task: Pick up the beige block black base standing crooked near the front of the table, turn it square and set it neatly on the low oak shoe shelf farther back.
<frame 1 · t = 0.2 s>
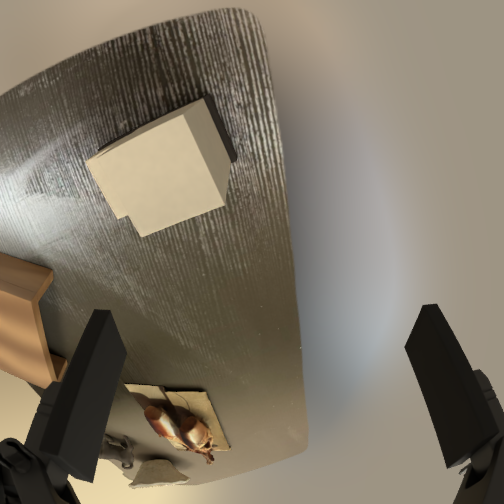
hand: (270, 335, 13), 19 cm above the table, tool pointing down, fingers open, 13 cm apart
shoe shelf: (23, 311, 38), on the table
ballet pointe shoes: (188, 422, 53), on the table
beige block black base: (186, 140, 27), on the table
dog figurine: (113, 437, 60), on the table
bowl: (162, 460, 66), on the table
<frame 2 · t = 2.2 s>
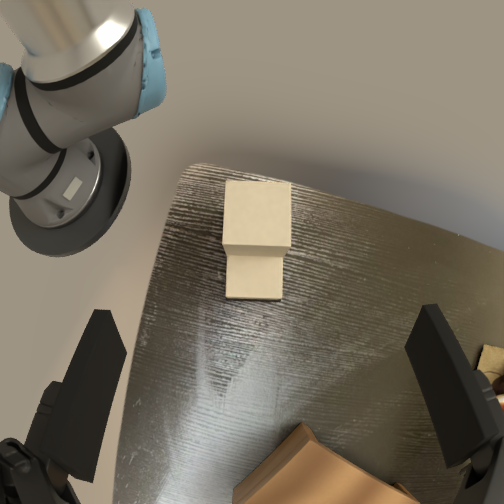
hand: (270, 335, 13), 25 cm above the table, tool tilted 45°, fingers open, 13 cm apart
shoe shelf: (323, 492, 33), on the table
beige block black base: (254, 237, 39), on the table
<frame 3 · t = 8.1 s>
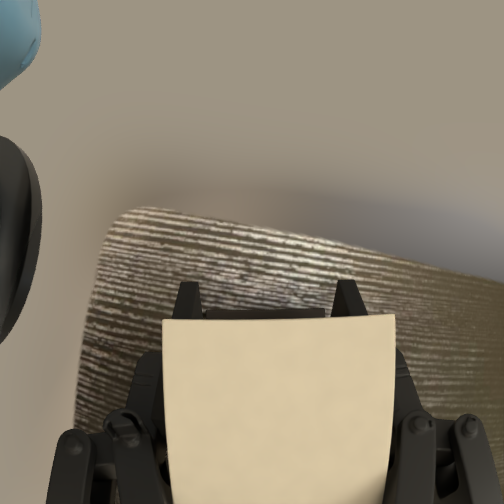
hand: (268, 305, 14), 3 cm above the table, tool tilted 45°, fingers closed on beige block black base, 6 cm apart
beige block black base: (265, 372, 17), on the table, touching gripper
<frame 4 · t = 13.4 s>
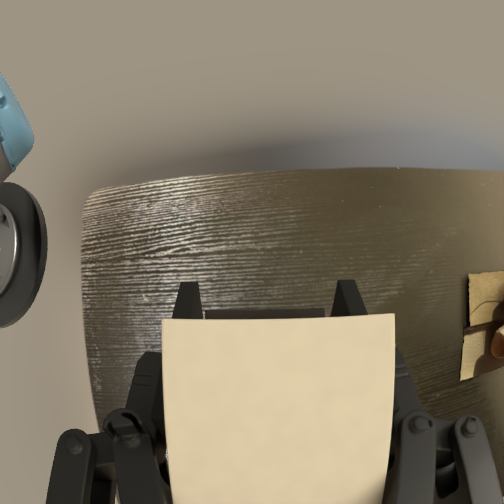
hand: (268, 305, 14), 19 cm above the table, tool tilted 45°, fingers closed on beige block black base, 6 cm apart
beige block black base: (265, 372, 17), point 16 cm above the table, touching gripper
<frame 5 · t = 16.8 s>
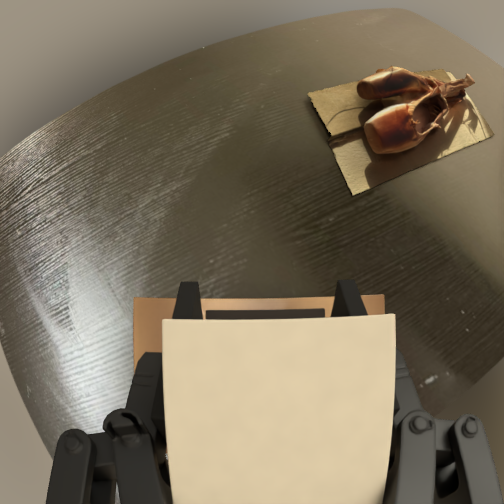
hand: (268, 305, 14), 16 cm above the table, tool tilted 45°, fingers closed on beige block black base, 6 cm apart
shoe shelf: (259, 370, 29), on the table
ballet pointe shoes: (411, 115, 35), on the table
beige block black base: (265, 372, 17), point 13 cm above the table, touching gripper
when the fingers open (9 cm above the table, at t = 19.0 s): beige block black base stays where it is, resting on shoe shelf.
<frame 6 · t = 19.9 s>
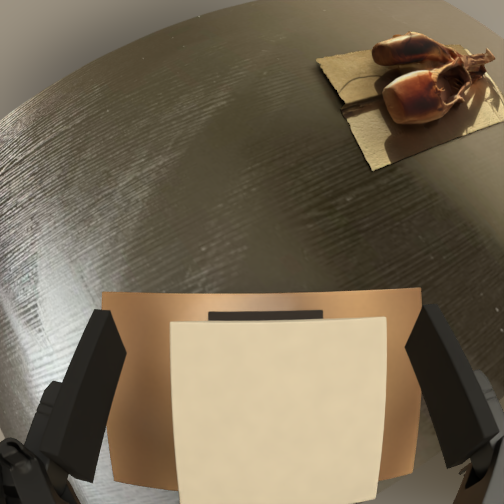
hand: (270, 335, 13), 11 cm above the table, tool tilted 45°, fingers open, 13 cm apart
shoe shelf: (262, 384, 23), on the table
ballet pointe shoes: (431, 89, 29), on the table
beige block black base: (265, 372, 18), point 6 cm above the table, touching shoe shelf
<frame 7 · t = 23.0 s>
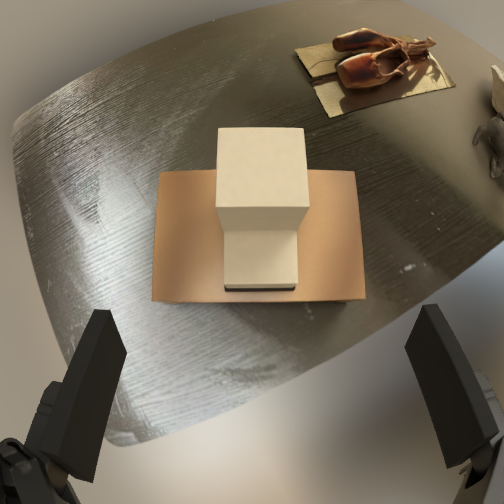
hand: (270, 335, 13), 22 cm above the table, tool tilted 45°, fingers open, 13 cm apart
shoe shelf: (257, 245, 36), on the table
ballet pointe shoes: (379, 67, 42), on the table
beige block black base: (258, 211, 31), point 6 cm above the table, touching shoe shelf
dog figurine: (492, 164, 39), on the table
bowl: (502, 112, 42), on the table
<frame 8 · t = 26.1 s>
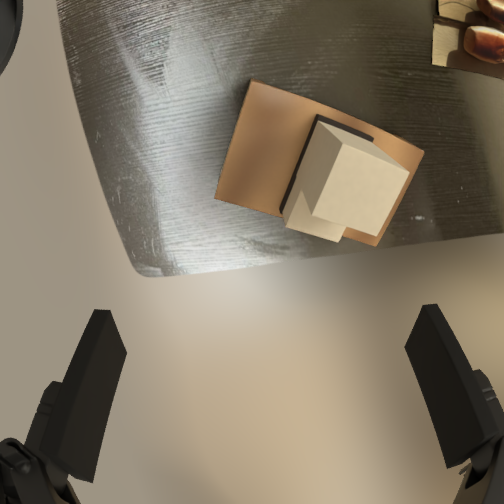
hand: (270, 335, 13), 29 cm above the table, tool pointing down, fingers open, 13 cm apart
shoe shelf: (314, 155, 37), on the table
beige block black base: (331, 154, 31), point 6 cm above the table, touching shoe shelf
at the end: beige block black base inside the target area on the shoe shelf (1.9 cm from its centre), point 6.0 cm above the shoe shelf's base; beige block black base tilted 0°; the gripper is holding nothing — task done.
